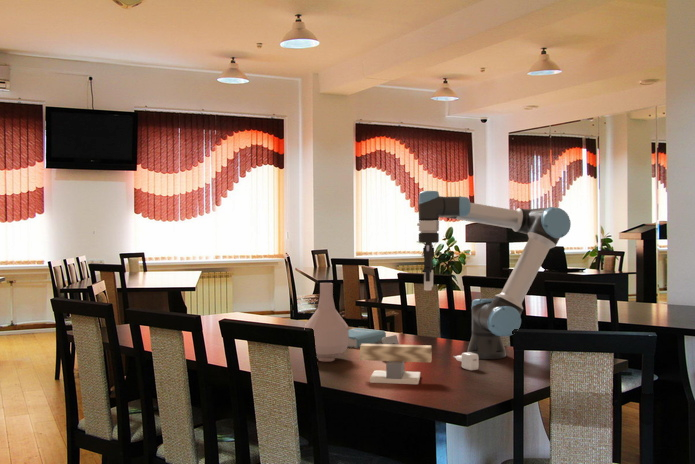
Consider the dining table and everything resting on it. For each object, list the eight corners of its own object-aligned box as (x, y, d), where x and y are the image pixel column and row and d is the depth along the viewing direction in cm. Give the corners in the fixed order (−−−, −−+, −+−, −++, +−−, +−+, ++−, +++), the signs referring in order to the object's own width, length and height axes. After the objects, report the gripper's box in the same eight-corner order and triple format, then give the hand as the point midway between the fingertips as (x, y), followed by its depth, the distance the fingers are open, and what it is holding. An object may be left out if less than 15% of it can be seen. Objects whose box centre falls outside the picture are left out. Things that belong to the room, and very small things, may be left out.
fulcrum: (420, 376, 224) (420, 357, 224) (418, 384, 212) (418, 364, 212) (374, 374, 227) (374, 356, 227) (369, 382, 215) (369, 363, 215)
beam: (431, 360, 219) (431, 345, 219) (431, 362, 215) (430, 347, 215) (361, 357, 223) (361, 343, 223) (360, 360, 219) (359, 345, 219)
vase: (358, 359, 253) (358, 283, 253) (326, 366, 240) (326, 286, 240) (326, 353, 265) (326, 280, 265) (294, 360, 252) (294, 283, 252)
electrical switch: (388, 362, 248) (386, 337, 249) (377, 361, 251) (375, 337, 252) (402, 358, 255) (400, 334, 256) (391, 358, 259) (389, 334, 259)
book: (357, 338, 305) (357, 327, 305) (385, 341, 296) (385, 331, 296) (327, 345, 287) (327, 334, 287) (357, 349, 277) (357, 337, 277)
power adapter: (450, 365, 241) (450, 350, 241) (461, 364, 244) (461, 348, 244) (469, 371, 232) (469, 355, 232) (480, 370, 234) (480, 353, 234)
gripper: (420, 232, 255) (420, 285, 255) (416, 232, 230) (416, 291, 230) (439, 232, 254) (439, 285, 254) (437, 232, 229) (437, 291, 229)
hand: (428, 288), depth 242 cm, fingers open, 13 cm apart
